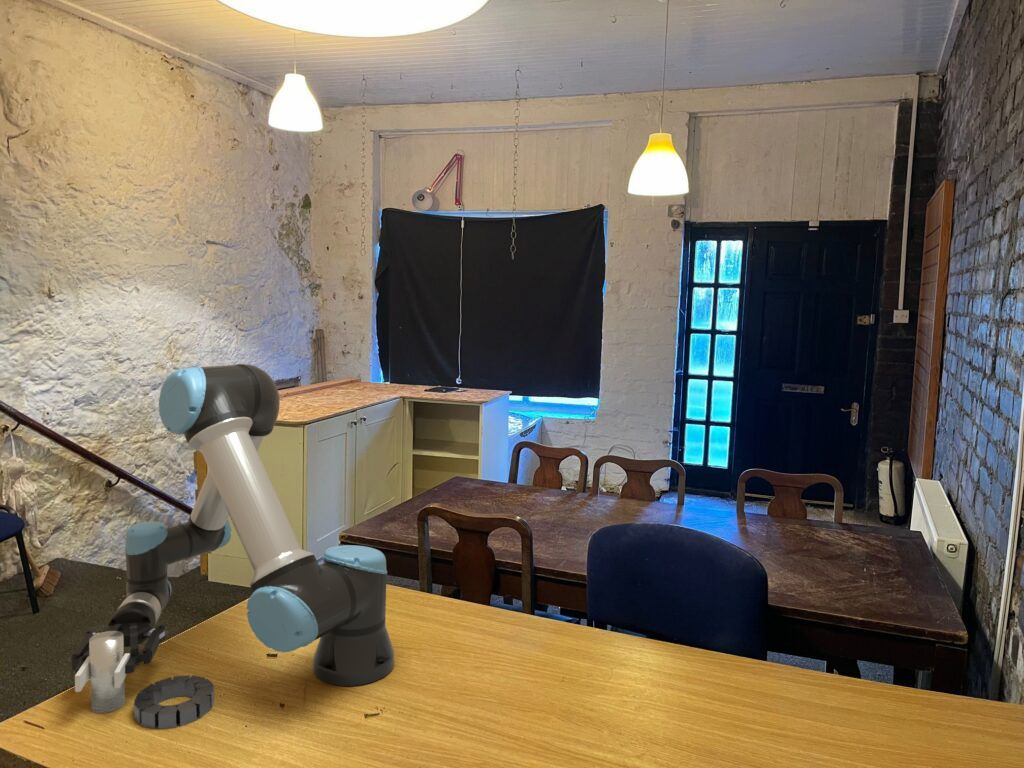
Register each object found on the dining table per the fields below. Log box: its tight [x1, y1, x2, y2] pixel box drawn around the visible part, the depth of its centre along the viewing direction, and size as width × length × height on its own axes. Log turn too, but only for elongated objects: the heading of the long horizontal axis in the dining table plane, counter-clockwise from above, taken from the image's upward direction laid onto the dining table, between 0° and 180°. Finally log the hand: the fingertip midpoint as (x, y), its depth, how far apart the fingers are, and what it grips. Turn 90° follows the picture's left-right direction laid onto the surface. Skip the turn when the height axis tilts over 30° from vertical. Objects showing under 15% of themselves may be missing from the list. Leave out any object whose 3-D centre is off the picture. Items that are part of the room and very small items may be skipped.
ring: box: [133, 674, 215, 730], centre depth 120 cm, size 12×12×2 cm
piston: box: [89, 631, 126, 714], centre depth 120 cm, size 5×5×12 cm
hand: (97, 681), depth 115 cm, fingers closed on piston, 5 cm apart
